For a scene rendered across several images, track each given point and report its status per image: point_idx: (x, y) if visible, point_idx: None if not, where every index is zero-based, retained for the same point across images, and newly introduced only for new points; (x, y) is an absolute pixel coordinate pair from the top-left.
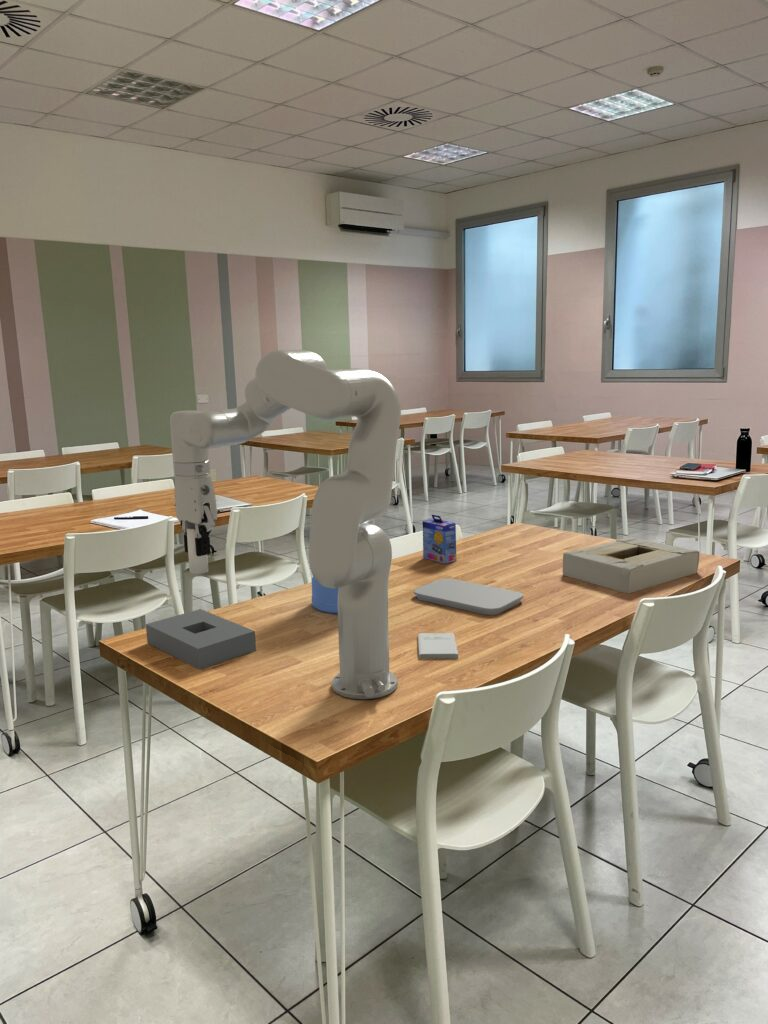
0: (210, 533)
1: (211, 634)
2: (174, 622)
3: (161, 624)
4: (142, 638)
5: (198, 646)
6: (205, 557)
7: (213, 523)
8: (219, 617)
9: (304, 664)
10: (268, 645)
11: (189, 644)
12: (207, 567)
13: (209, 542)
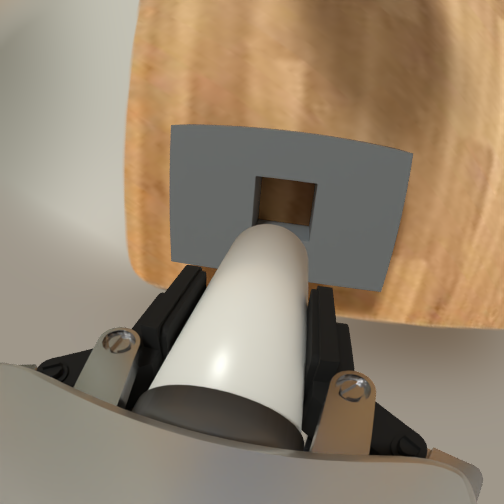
0: (374, 393)
1: (345, 224)
2: (206, 220)
3: (196, 245)
4: (158, 235)
5: (372, 284)
6: (307, 290)
7: (475, 491)
8: (263, 132)
9: (500, 159)
10: (398, 113)
11: (349, 287)
12: (303, 253)
13: (336, 330)
